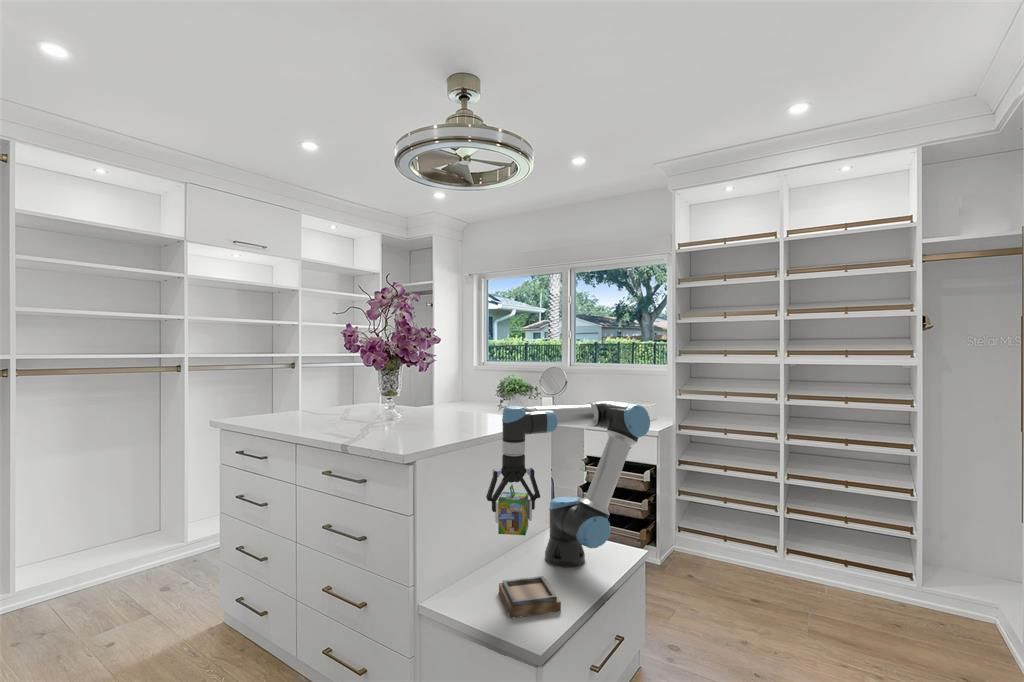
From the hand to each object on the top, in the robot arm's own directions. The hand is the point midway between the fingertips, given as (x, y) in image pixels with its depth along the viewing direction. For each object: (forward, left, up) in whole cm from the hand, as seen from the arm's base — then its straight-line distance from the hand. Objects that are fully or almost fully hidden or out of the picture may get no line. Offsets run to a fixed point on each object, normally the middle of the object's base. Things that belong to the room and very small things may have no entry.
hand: (513, 520), depth 166 cm
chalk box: (0, -1, -4) cm, 4 cm away
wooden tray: (-4, +7, -24) cm, 25 cm away
